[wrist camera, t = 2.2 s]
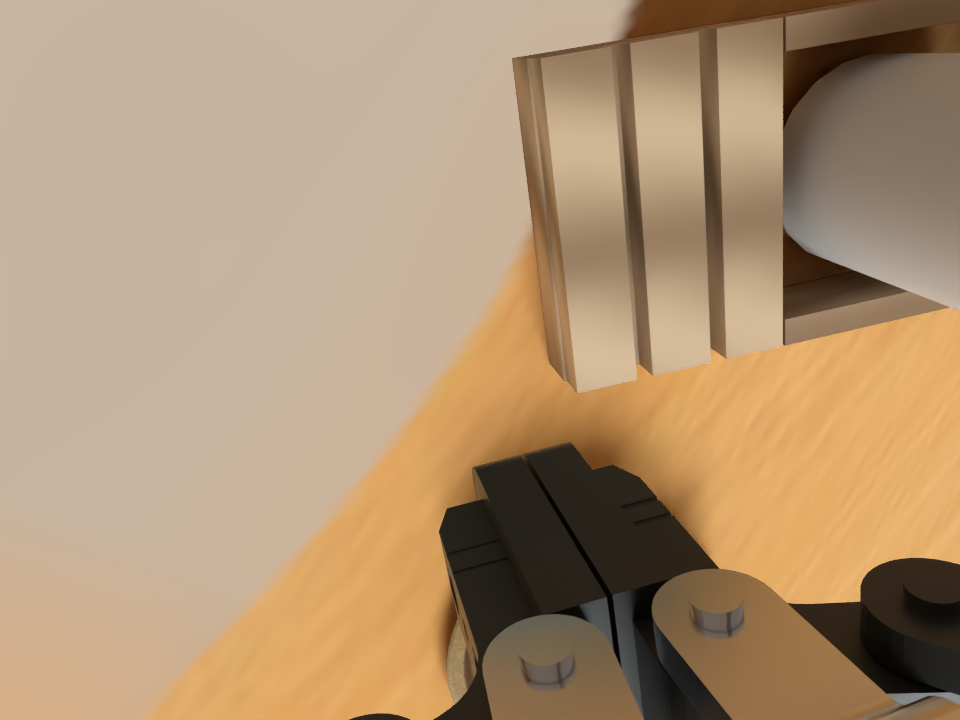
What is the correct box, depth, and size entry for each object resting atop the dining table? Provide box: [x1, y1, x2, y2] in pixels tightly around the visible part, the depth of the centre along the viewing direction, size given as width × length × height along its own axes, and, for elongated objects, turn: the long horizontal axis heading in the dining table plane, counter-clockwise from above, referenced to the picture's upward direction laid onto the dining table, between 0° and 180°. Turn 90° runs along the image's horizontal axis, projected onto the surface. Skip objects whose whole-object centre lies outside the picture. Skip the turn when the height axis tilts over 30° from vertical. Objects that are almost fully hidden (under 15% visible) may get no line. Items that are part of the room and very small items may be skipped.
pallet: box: [512, 0, 960, 393], centre depth 28 cm, size 11×18×3 cm, turn 99°
